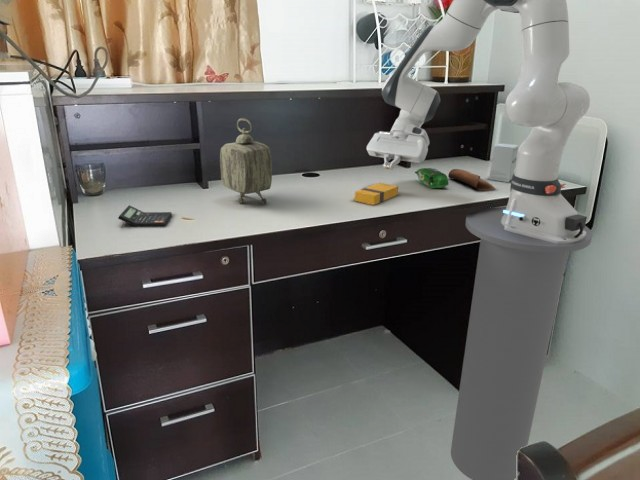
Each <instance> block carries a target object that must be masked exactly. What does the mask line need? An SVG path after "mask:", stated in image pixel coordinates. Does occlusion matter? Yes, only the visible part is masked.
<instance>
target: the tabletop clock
mask: <svg viewBox="0 0 640 480" xmlns="http://www.w3.org/2000/svg"><path fill="white" fill-rule="evenodd" d="M241 121H242V122H243V121H244V122H247V123H248V125H249V128H250V129H249V130H247V128H246V127H243V128H242V129H241V128H240V126H239V124H240V122H241ZM236 128H237V130H238V131H239V132H240V133H241V134H239V135H238V136H237V137H236V139H235V142H229V143H225V144H224V145H223V146H222V147H221V148H220V150H219V169H220V179H221V184H222V185H223V186H224V187H225V188H226V189H229V190H232V191H234V192H237V193H238V194H239V196H240V197H239V198H238V199H237V201H238V203H240V204H243V203H244V201H245V200H244V198H243V197H245V195H250V194H254V193H255V194H257V195H258V196H259V198H260V199H261V203H262V204H266V203H267V198H265V197H263V195H262V193H261V192H263V191H268V190H270V189H271V187H272V181H273V161H272V154H271V150H270V147H269V146H268V145H266V144H264V143H262V142H259V141H254V138H253V137H252V135H250V133H251V132H252V130H253V125H252V122H251V121H250V120H249V119H247V118H245V117H240V118H239V119H237V121H236Z"/></svg>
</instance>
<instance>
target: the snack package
mask: <svg viewBox="0 0 640 480" xmlns="http://www.w3.org/2000/svg"><path fill="white" fill-rule="evenodd" d="M414 173H415V174H416V175H417V178H418V180H419V181H420V182H421V183H422V184H423V185H425V186H427V187H428V188H431V189H444V188H445V187H446V186H448V185H449V179H448V178H449V177H448V175H447V174H445V173H444V172H442V171H440V170H439V169H437V168H434V167H422V168H419V169H417V170H416V171H414Z"/></svg>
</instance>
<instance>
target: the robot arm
mask: <svg viewBox="0 0 640 480" xmlns="http://www.w3.org/2000/svg"><path fill="white" fill-rule="evenodd" d="M497 10H500V11H502V12H508V13H515V14H519V16H520V23H521V24H520V25H521V54H522V55H521V57H522V59H521V68H520V72H519V76H518V79H517V82H516V84H515V86H514V88H513V89H512V90H511V91H510V92H509V93H508V95H507V96H506V99H505V104H504V110H505V111H504V112H505V115H506V117H507V119H508V120H509V121H510V123H512V124H514V125H518V126H521V127H527V128H531V131H530V132H529V134H528V136H526V138H525V139H524V140H523V141H522V142H521V143H520V145H519V146H518V152H517V158H516V165H515V170H514V174H513V175H512V179H511V180H510V187H509V188H510V194H509V197H508V201H507V204H506V210H503V213H504V215H503V217H502V219H501V224H502V225H503V226H504V230H506V231H510V232H513V233H517V234H521V235H525V236H529V237H533V238H537V239H540V240H544V241H548V242H552V243H556V244H568V243H574V242H577V241H580V240H582V239H584V238H585V237H586V231H584V230H583V228H585V226H586V223H587V219H588V216H585V215H583V214H579V213H578V211H577V209H575V208H574V207H573V205H571V203H570V202H569V201H568V200H567V199H566V198H565V197H564V196H563V194H562V189H565V188H566V183H560V181H559V178H558V176H559V170H560V166H561V161H562V157H563V153H564V149H565V147H566V144H567V142H568V140H569V138H570V136H571V134H572V132H573V130H574V129H575V126H576V125H577V124H578V122H579V121H580V120H581V119H582V118H583V117H584V116H585V115H586V114H587V112H588V110H589V108H590V105H591V104H590V103H591V98H590V94H589V92H588V90H587V89H586V88H585V87H583V86H581V85H579V84H575V83H572V82H568V81H567V82H565V81H564V82H559V74H560V70H561V67H562V65H563V64H564V63H565V61H566V60H567V59H568V58H569V55H570V51H571V50H570V27H569V25H570V24H569V11H568V4H567V0H452V2H451V3H450V5H449V7H448V9H447V11H446V13H445V14H444V16H443V17H442V19H440V20H439V21H438V22H437V23H435V24H433V25H432V24H431V25H429V26H427V27H426V28H425V29H424V30H423V31H422V33H421V34H420V35H419V37H418V38H417V39H416V40H415V41H414V43H413V44H412V46H411V47H410V49H409V50H408V51H407V53H406V54H405V56H404V57H403V58H402V59H401V61H400V63H399V64H398V66H397V67H396V69H394V71H393V72H392V73H391V74H390V75H389V76H388V77H387V79H386V80H385V81H384V84H383V85H382V88H381V92H380V93H381V96H382V99H383V100H384V102H385V104H388V105H390V106H392V107H396V108H399V109H400V111H399V114H398V117H397V118H396V119H395V121H394V123H393V125H392V127H391V129H390V131H383V130H380V131H377V132H375V133H374V134H373V136H372V137H371V139H370V140H369V142H368V143H367V145H366V148H365V149H366V151H367V153H368V155H369V156H370V157H375V158H383V161H384V163H382V168H383V169H384V170H389V171H393V170H394V167H395V166H397V165H398V164H399V163H401V161H404V162H410V163H415V164H416V163H417V164H422V163H423V162H424V161H425V160H426V157H427V155H428V152H429V148H428V147H429V145H430V142H431V141H430V138H429V136H428V133H427V131H426V130H425V129H424V128H422V125H423V124H424V123H427V122H429V121H431V120H433V118H434V116H435V114H436V111H437V109H438V108H439V105H440V104H441V96H440V93H439V91H438V90H436V89H434V88H432V87H430V86H428V85H426V84H425V83H424V84H423V83H422V82H420V81H418V80H416V79H414V78H412V77H410V76H409V73H410V72H411V71H412V69H413V68H414V67H415V65H416V64H417V62H418V61H419V60H420V58H421V57H422V56H423V55H424V54H426V53H428V52H433V51H439V52H459V51H462V50H466V49H467V48H469V47H470V46H471V45H472V44H473V42H474V41H475V40H476V39H477V37H478V35H479V34H480V32H481V31H482V29H483V26H484V25H485V23H486V21H487V19H488V18H489V16H490V15H491V14H492V13H494V11H497ZM391 160H392V161H391ZM389 161H390V162H389Z"/></svg>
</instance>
